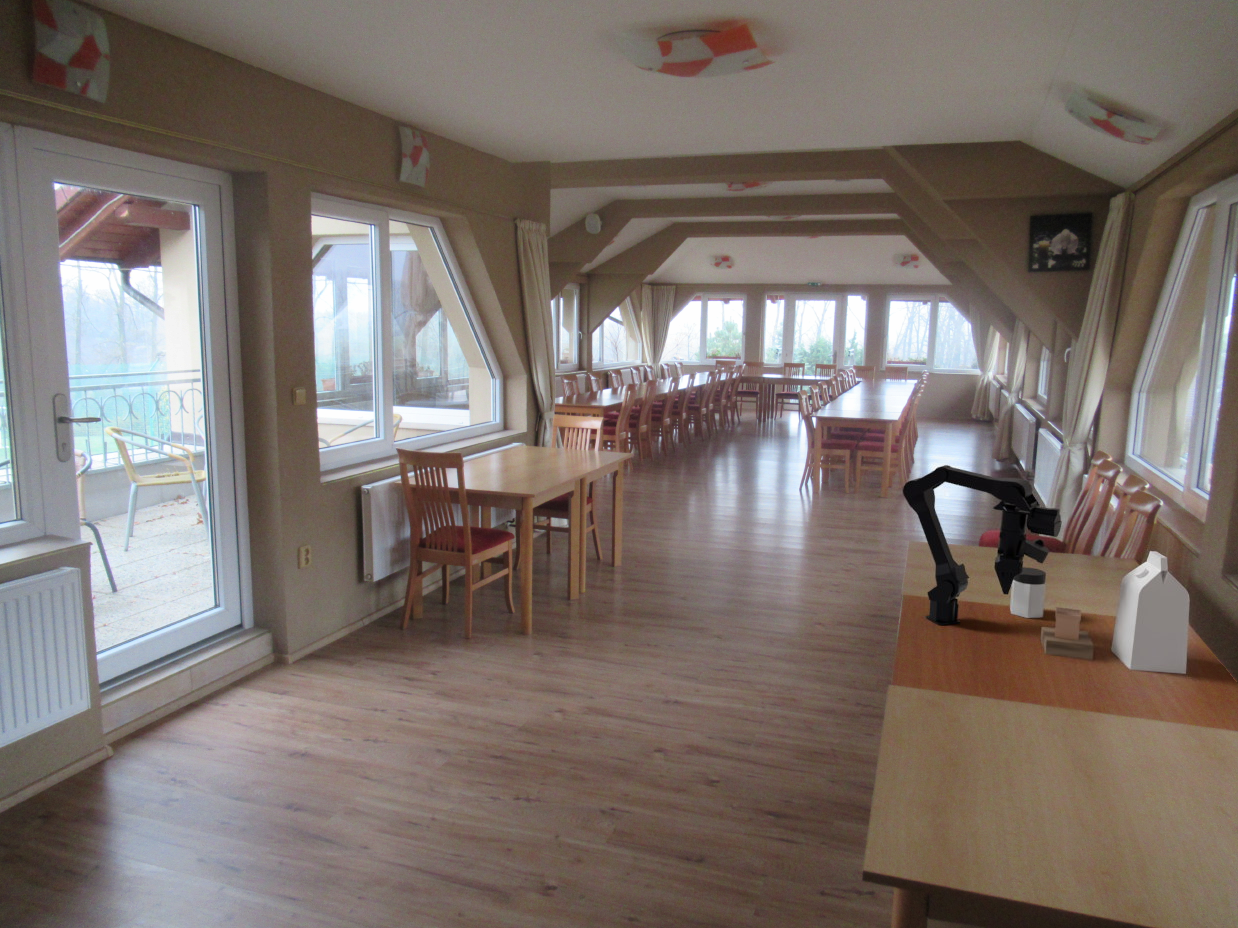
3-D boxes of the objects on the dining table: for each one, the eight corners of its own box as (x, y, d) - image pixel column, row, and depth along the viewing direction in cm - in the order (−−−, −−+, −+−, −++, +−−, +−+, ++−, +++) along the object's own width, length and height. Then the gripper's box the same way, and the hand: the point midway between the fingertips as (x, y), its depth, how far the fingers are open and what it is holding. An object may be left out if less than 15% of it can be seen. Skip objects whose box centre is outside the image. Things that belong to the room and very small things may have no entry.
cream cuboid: (1078, 640, 202) (1081, 616, 202) (1053, 636, 205) (1055, 613, 204) (1078, 633, 207) (1080, 610, 206) (1054, 630, 210) (1056, 606, 209)
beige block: (1092, 661, 200) (1093, 645, 200) (1045, 655, 204) (1046, 640, 203) (1085, 646, 209) (1086, 631, 209) (1040, 641, 213) (1041, 626, 212)
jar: (1049, 614, 232) (1053, 572, 230) (1035, 620, 227) (1039, 577, 225) (1017, 606, 239) (1020, 564, 237) (1002, 612, 233) (1006, 570, 232)
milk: (1185, 673, 192) (1198, 562, 188) (1130, 669, 194) (1141, 559, 190) (1163, 653, 204) (1174, 549, 200) (1111, 650, 206) (1121, 546, 202)
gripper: (1048, 542, 200) (1041, 605, 202) (1048, 525, 216) (1042, 583, 219) (997, 535, 205) (991, 597, 207) (1001, 519, 221) (995, 577, 224)
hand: (1006, 588), depth 214 cm, fingers open, 9 cm apart
